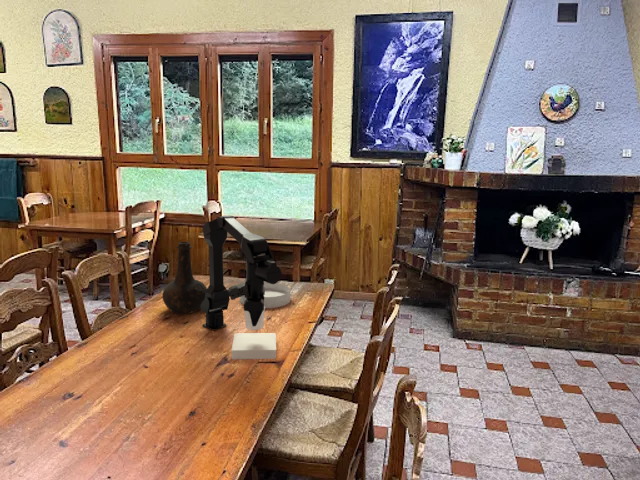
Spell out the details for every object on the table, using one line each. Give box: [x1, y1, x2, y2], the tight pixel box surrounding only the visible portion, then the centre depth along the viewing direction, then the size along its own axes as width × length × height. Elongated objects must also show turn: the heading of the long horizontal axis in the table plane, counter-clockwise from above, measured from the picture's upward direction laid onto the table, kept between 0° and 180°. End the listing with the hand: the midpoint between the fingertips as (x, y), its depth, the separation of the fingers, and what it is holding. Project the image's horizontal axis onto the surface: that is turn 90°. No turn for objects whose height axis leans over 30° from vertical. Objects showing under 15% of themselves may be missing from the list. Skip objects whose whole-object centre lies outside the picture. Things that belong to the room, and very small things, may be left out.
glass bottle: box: [162, 241, 208, 315], centre depth 192 cm, size 18×18×28 cm
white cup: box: [243, 306, 266, 331], centre depth 158 cm, size 7×7×7 cm
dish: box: [239, 281, 291, 309], centre depth 211 cm, size 22×22×5 cm
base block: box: [231, 332, 277, 360], centre depth 159 cm, size 14×14×3 cm
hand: (254, 322), depth 158 cm, fingers closed on white cup, 6 cm apart
